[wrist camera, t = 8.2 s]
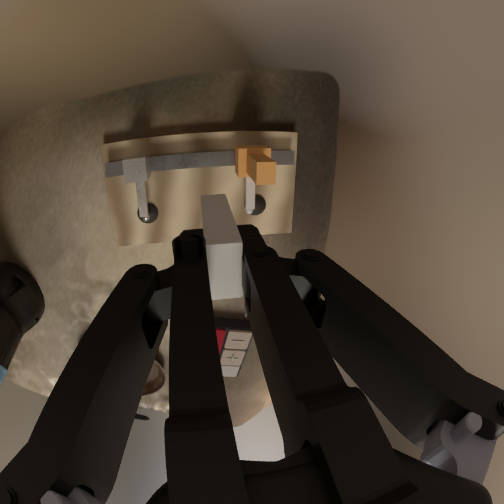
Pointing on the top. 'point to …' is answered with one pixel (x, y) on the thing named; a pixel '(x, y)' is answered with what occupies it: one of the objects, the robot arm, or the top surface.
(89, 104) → the top surface
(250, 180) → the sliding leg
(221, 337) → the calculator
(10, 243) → the top surface
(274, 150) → the rail
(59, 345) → the top surface
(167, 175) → the hole plate
